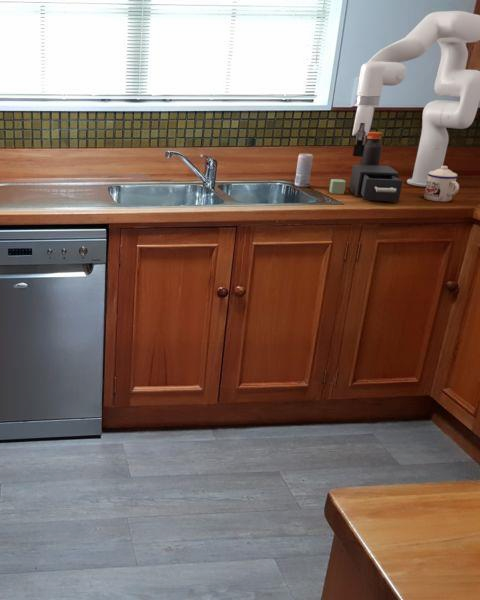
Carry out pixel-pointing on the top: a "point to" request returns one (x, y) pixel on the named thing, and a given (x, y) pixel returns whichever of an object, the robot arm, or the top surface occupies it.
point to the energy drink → (303, 170)
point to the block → (337, 186)
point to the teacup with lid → (441, 185)
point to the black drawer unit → (380, 187)
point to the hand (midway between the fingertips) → (357, 155)
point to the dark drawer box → (367, 169)
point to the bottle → (372, 149)
